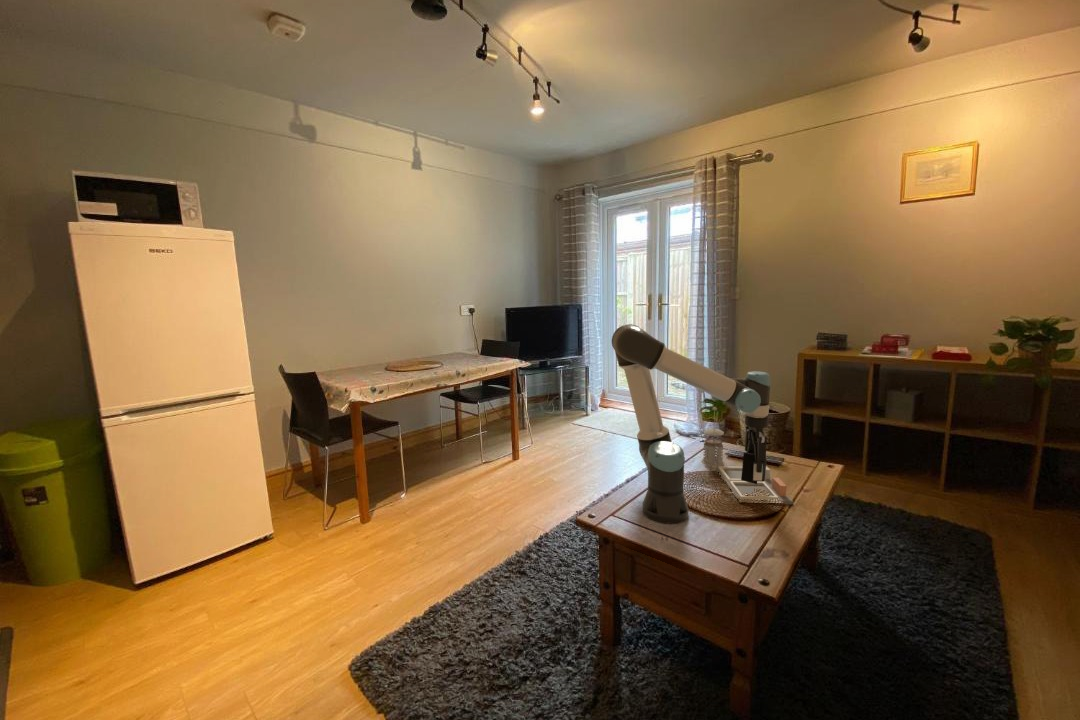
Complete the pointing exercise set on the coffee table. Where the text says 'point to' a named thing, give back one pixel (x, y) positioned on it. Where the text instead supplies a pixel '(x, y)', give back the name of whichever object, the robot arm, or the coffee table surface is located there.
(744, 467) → the speaker
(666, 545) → the coffee table surface
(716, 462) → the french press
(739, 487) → the dock board
